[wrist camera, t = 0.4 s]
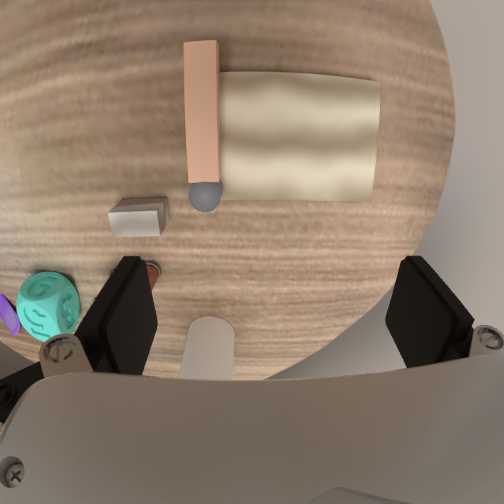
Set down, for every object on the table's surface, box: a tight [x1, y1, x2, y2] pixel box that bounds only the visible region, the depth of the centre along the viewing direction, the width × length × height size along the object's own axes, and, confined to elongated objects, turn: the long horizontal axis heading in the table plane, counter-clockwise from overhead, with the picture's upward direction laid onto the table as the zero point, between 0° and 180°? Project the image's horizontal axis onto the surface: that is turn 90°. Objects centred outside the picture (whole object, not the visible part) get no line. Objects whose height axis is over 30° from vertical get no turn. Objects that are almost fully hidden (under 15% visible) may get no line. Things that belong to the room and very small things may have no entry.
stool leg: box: [184, 40, 223, 212], centre depth 29 cm, size 17×3×3 cm, turn 0°
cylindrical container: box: [179, 316, 235, 380], centre depth 36 cm, size 7×7×25 cm
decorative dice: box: [16, 272, 80, 342], centre depth 40 cm, size 8×8×8 cm
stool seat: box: [108, 72, 381, 237], centre depth 32 cm, size 17×30×4 cm, turn 90°
